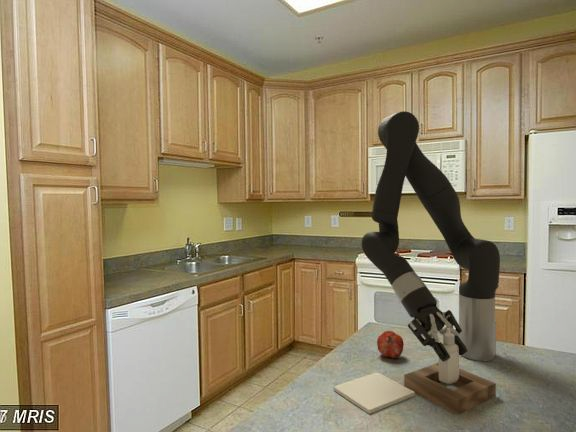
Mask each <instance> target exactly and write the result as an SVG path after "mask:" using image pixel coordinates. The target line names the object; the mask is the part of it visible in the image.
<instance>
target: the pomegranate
mask: <svg viewBox="0 0 576 432" xmlns="http://www.w3.org/2000/svg"><path fill="white" fill-rule="evenodd" d="M376 345H377V350H378V352H379V353H380V354H381V355H382V356H383V357H386V358H392V359H397V358H399V357H400V356H401V355H402V354H403V351H404V345H405V343H404V339H403V338H402V336H400V335H399V334H397V333H396V332H394V331H393V330H385V331H383V332H382V333H381V334H380V335H379V336H378V337H377V340H376Z"/></svg>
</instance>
